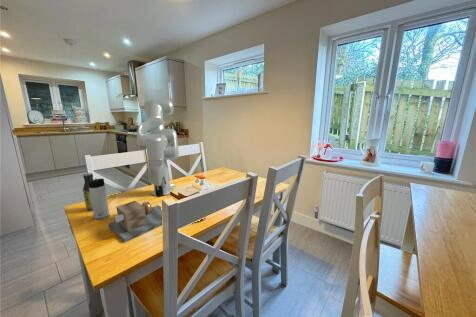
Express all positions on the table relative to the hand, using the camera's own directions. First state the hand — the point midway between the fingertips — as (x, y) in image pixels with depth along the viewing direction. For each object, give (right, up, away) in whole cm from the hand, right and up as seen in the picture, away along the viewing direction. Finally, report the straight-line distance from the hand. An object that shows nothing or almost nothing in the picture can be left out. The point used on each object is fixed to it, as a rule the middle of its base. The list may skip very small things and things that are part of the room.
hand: (159, 195), depth 99 cm
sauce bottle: (-39, -8, +6) cm, 40 cm away
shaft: (-7, -9, -11) cm, 16 cm away
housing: (-5, -11, -7) cm, 14 cm away
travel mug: (-28, -10, -3) cm, 30 cm away
